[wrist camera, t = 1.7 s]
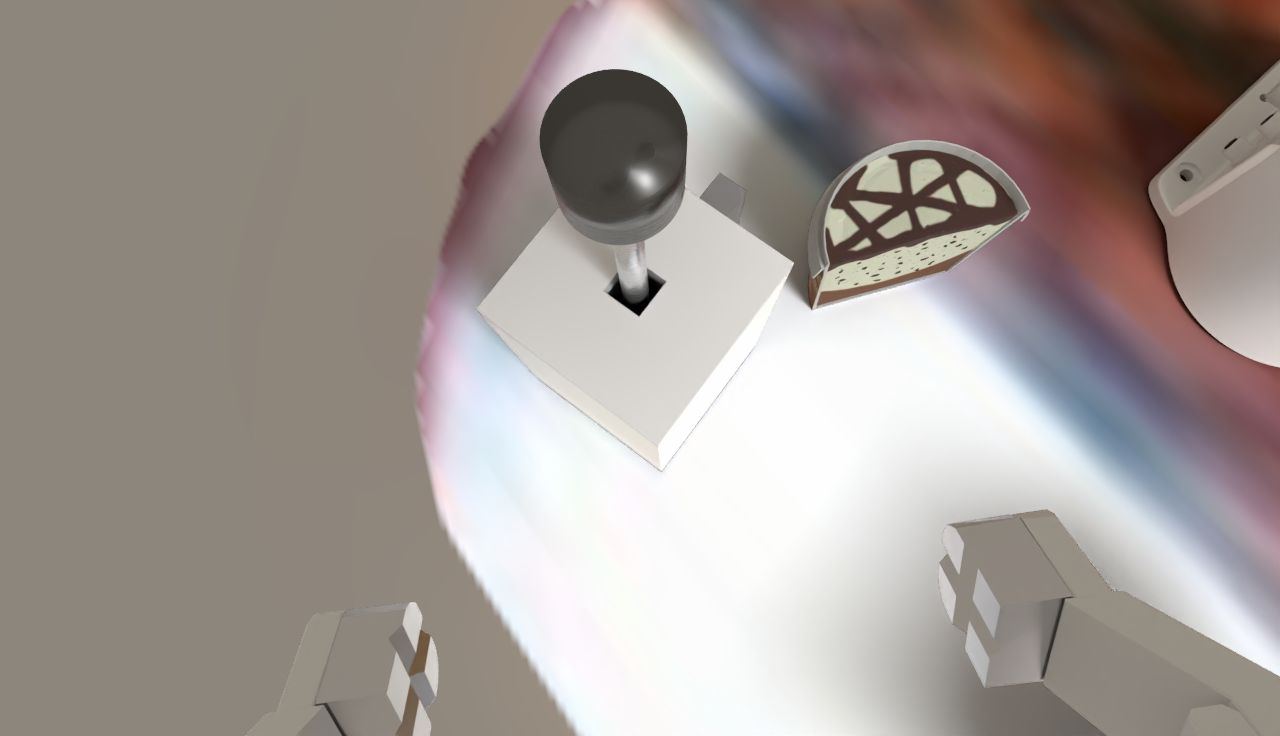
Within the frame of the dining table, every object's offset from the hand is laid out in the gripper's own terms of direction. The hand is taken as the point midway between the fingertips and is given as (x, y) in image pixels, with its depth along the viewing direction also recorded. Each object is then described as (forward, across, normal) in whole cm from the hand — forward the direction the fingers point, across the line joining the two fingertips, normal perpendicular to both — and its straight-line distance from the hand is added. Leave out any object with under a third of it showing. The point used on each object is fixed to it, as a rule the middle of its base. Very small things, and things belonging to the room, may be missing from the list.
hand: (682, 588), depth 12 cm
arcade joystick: (+35, -1, +18) cm, 39 cm away
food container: (+39, -16, +15) cm, 44 cm away
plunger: (+27, 0, +11) cm, 30 cm away
